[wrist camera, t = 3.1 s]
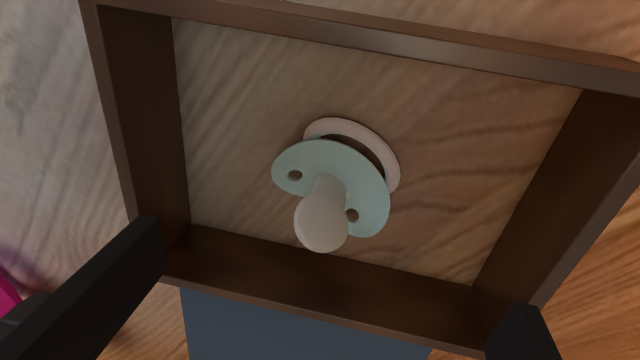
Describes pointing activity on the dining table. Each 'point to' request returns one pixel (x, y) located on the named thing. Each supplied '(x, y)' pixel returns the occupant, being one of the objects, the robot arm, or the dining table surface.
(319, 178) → the pacifier
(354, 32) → the open box
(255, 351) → the mat
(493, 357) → the robot arm
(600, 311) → the dining table surface
